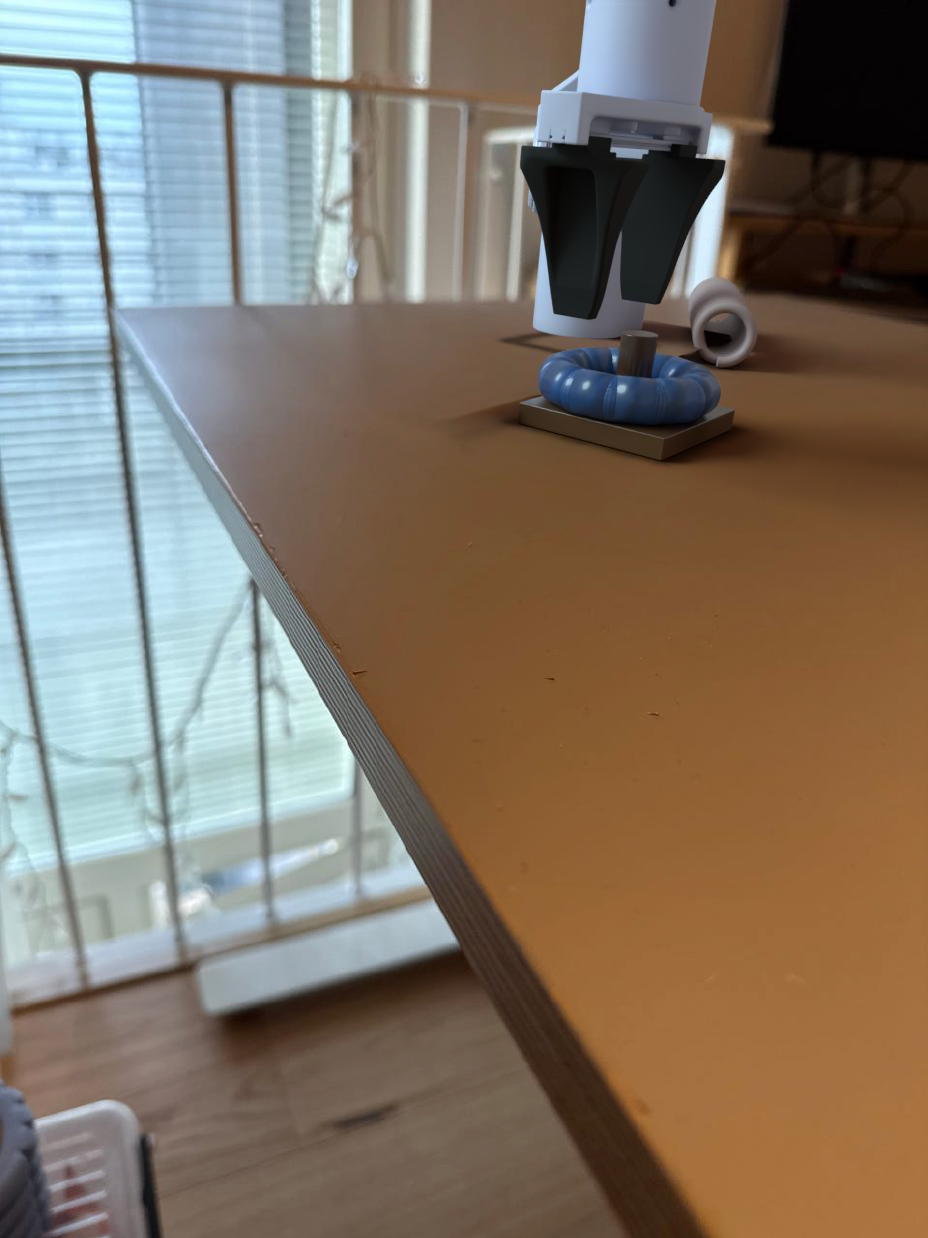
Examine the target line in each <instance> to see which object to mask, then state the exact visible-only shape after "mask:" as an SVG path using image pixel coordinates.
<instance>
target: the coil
mask: <svg viewBox="0 0 928 1238" xmlns="http://www.w3.org/2000/svg"><path fill="white" fill-rule="evenodd" d="M687 311H688V318H689V324H690V331H691V337H692V342H693V347H694V348H696V349H697V350H696V353H697V354H698V356H700V358H702V360H704V361H706V363H709V364H711V365H715V367H716V368H729V367H734V366H736V365H738V364H741V362H743V361H744V360H746V358H748V356H750V354H751V353H752V351H753V349H755V346H756V342H757V340H758V325H757V321H756V319H755V317H754V315H753V313H752V312H751V309H750V308H749V306H748V304H747V303H746V301H745V299H744V297H743V296H742V294H741V292H740V290H739V288H738V287H737V286H736V284H735V283H734V282H732V281H731V280H729V279H727V278H725V277H720V276H719V277H718V276H714V277H713V276H712V277H709V278H706V279H704V280H702V281H701V282H699V283H698V284H696V286H695V287H694V288H693V289H692V291H691V293H690V295H689V297H688V301H687ZM722 314H723V315H724V314H728V315H727V316H726V317H725V318H723V320H715V321H713V320H712V319H713V318H715V317H716V316H719V315H722ZM711 320H712V321H711ZM705 331H707V332H712V333H717V334H722V335H723V334H724V335H729V336H730V339H731V340H729V341H726V342H723V343H719V344H716V345H711V346H708V345H707V340H706V336H705Z"/></svg>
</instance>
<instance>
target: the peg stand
mask: <svg viewBox="0 0 928 1238" xmlns="http://www.w3.org/2000/svg"><path fill="white" fill-rule="evenodd" d="M658 340H659V334H658V333H655V332H651V331H649V330H648V331H647V330H642V329H640V330H625V331H622V334H621V336H620V341H619V347H618V348H619V355H618V362H617V369H616V375H620V376H632V377H644V378H652V373H653V367H654V361H655V354H656V353H657V347H658V342H659V341H658ZM735 411H736V410H735V409H734V408H729V407H725V406H721V405H717V406H716V407H715V409H713V410H712V411H711V412H710V413H708V414H706V415H704V416H702V417H700V418H698V419H696V420H694V421H691V422H688V423H679V424H665V425H641V424H629V423H618V422H609V421H604V420H600V419H595V418H591V417H587V416H582V415H578V414H574V413H571V412H569V411H567V410H565V409H563V408H561V407H559V406H557V405H555V404H553V403H551V402H549V401H548V400H546V399H545V398H544V397H543V395H542V396H541V395H540V396H537V397H534V398H529V399H526V400H523V401H520V402H519V405H518V416H517V417H518V418H517V423H518V424H520V425H523V426H528V427H531V428H536V429H540V430H544V431H547V432H550V433H554V434H558V435H562V436H566V437H570V438H573V439H576V440H581V441H585V442H588V443H593V444H597V445H599V446H604V447H607V448H611V449H616V450H619V451H622V452H627V453H631V454H634V455H638V456H642V457H645V458H649V459H653V460H657V461H663V460H666V459H668V458H670V457H673V456H674V455H677V454H679V453H682V452H683V451H686V450H689V449H690V448H692V447H695V446H698V445H700V444H702V443H704V442H706V441H709V440H711V439H712V438H715V437H717V436H720V435H722V434H724V433H726V432H728V431H730V430H732V427H733V422H734V417H735Z"/></svg>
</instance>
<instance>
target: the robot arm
mask: <svg viewBox="0 0 928 1238" xmlns="http://www.w3.org/2000/svg"><path fill="white" fill-rule="evenodd" d="M716 5H717V0H586V1H585V10H584V20H583V28H582V37H581V47H580V57H579V66H578V69H577V71H575V72H574V73H572V74H571V75H570V76H569V77H567V78H566V79H565V80H563V81H562V82H561V83H559V84H558V85H556V86H555V87H553V88H552V89H549V90H548V89H542V91H541V93H540V104H538V108H537V116H536V127H535V128H534V130H533V141H532V145H524V144H523V145H521V146H520V155H519V156H520V157H519V169H520V171H521V173H522V175H523V177H524V179H525V180H524V181H525V182H526V185H527V186H528V197H527V206H528V207H529V209H530V210H532V214H533V215H537V217H538V221H539V225H540V230H541V233H540V234H541V235H540V246H539V255H538V257H539V258H538V266H537V275H536V276H537V277H536V287H535V298H534V306H533V307H534V308H533V318H532V328H533V329H534V330H537V331H539V332H542V333H546V334H550V335H553V336H560V337H569V338H575V339H577V338H578V339H591V340H592V339H593V340H594V339H597V340H599V339H604V340H605V339H615V338H619V337H621V334H622V331H625V330H642V329H643V326H644V325H643V324H644V319H645V312H646V311H645V310H646V304H647V305H654V306H656V305H661V303H662V301H663V299H664V297H665V295H666V292H667V290H668V288H669V285H670V282H671V279H672V277H673V275H674V272H675V269H676V266H677V263H678V260H679V258H680V255H681V253H682V251H683V248H684V245H685V243H686V241H687V238H688V236H689V233H690V231H691V229H692V227H693V226H694V224H695V222H696V219H697V218H698V215H699V213H700V212H701V210H702V209H703V206H704V205H705V203H706V201H707V200H708V198H709V197H710V196H711V194H712V193H713V191H714V189H715V188H716V187H717V185H718V184H719V183H720V181H721V180H722V179H723V176H724V173H725V168H726V163H727V160H726V159H718V158H706V157H697V155H707V152H708V146H709V141H710V135H711V128H712V121H713V117H714V114H713V113H710V112H706V111H705V109H704V107H702V106H701V99H702V95H703V88H704V82H705V75H706V68H707V62H708V57H709V50H710V44H711V37H712V32H713V24H714V18H715V11H716Z"/></svg>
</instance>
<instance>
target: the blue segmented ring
mask: <svg viewBox="0 0 928 1238" xmlns="http://www.w3.org/2000/svg"><path fill="white" fill-rule="evenodd" d="M619 348H620V347H606V346H605V347H604V346H603V347H576V348H570V349H566V350H562V351H559V352H555V353H552V354H550V355H548V356H547V357H545V359H544V360H543V361H542V363H541V364H540V367H539V370H538V389H539V391H540V394H541V395H542V396H543V397H544V398H545V399H546V400H548V401H549V402H551V403H553V404H555V405H557V406H559V407H561V408H563V409H565V410H567V411H569V412H571V413H574V414H578V415H582V416H587V417H591V418H595V419H600V420H604V421H609V422H618V423H629V424H641V425H665V424H679V423H688V422H691V421H694V420H696V419H698V418H700V417H702V416H704V415H706V414H708V413H710V412H711V411H712V410H713V409H715V407H716V406H719V405H718V404H719V403H720V399H721V396H722V390H721V385H720V383H719V381H718V379H717V378H716V377H715V375H714V374H713V372H712V371H711V370H710V369H709V368H708V367H706V366H705V365H703V364H699V363H697V362H694V361H692V360H691V361H690V360H688V359H686V358H682V357H680V356H675V355H670V354H665V353H660V352H656V354H655V361H654V367H653V373H652V378H644V377H632V376H620V375H616V369H617V362H618V355H619Z"/></svg>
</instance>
